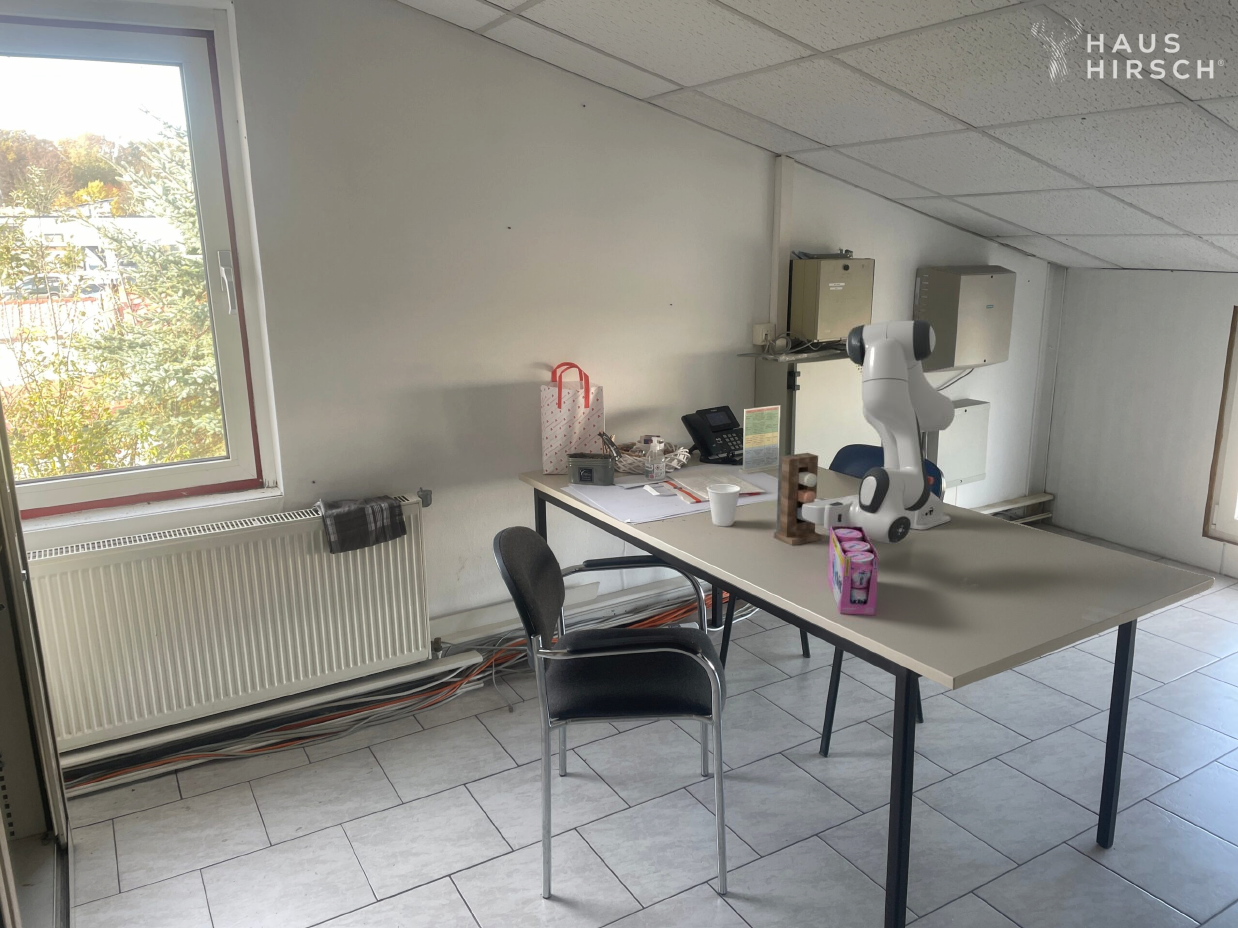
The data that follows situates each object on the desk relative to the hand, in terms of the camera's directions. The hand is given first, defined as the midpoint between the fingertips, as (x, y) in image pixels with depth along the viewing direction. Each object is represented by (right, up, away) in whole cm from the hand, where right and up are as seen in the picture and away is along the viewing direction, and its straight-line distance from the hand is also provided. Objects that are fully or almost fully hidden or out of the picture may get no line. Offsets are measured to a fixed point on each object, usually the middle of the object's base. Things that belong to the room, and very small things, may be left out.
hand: (818, 501), depth 232 cm
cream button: (-2, +4, +3) cm, 6 cm away
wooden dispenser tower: (-4, -11, +10) cm, 15 cm away
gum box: (0, -21, -32) cm, 38 cm away
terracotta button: (-2, -1, +5) cm, 5 cm away
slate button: (-2, -6, +6) cm, 8 cm away
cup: (-23, -8, +24) cm, 34 cm away
